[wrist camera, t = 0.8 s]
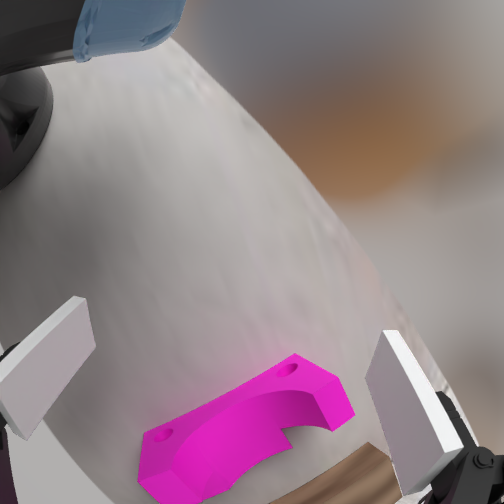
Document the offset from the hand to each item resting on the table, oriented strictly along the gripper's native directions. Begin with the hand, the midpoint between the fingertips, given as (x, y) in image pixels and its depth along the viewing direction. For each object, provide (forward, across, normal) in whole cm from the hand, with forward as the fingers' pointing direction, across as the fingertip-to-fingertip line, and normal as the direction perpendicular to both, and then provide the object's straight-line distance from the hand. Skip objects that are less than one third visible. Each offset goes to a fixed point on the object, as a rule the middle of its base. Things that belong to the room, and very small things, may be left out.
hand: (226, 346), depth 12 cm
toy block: (+7, 0, -14) cm, 15 cm away
